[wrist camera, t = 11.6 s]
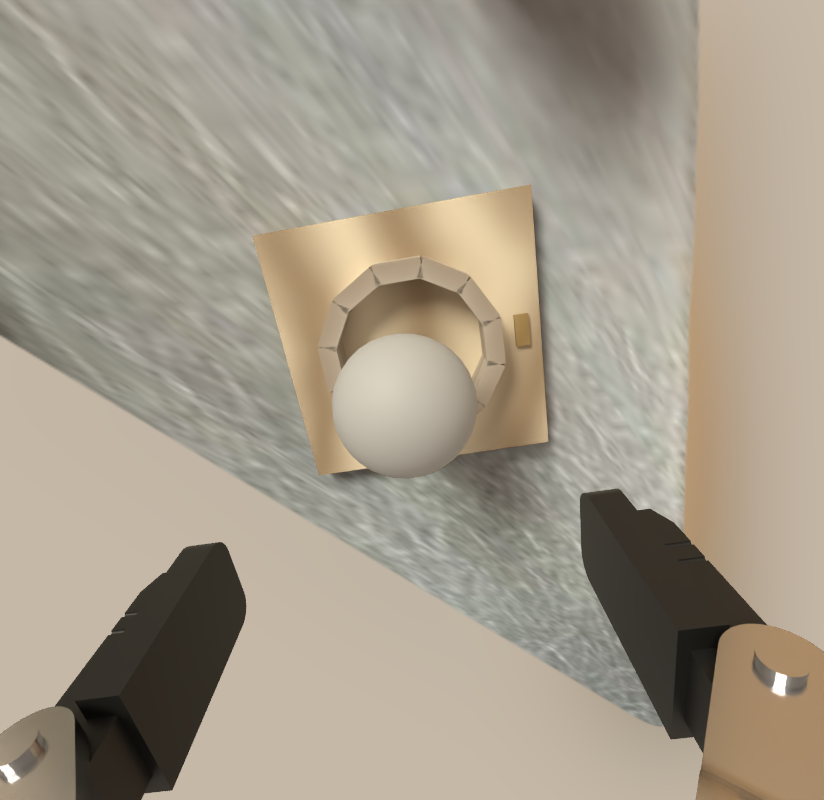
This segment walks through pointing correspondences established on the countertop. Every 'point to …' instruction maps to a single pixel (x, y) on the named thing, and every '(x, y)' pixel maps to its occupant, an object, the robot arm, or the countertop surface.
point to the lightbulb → (404, 405)
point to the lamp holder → (415, 307)
